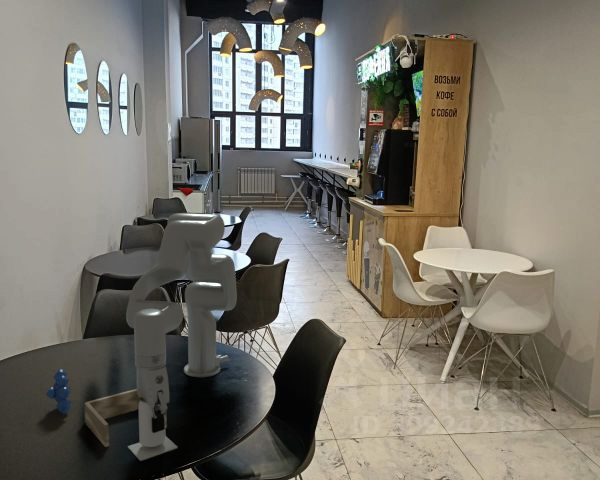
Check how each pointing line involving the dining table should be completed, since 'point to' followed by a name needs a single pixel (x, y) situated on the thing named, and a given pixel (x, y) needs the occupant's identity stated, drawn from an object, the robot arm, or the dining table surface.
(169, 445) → the mat
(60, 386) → the grapes
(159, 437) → the can
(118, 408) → the wooden u-shaped frame
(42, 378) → the dining table surface
